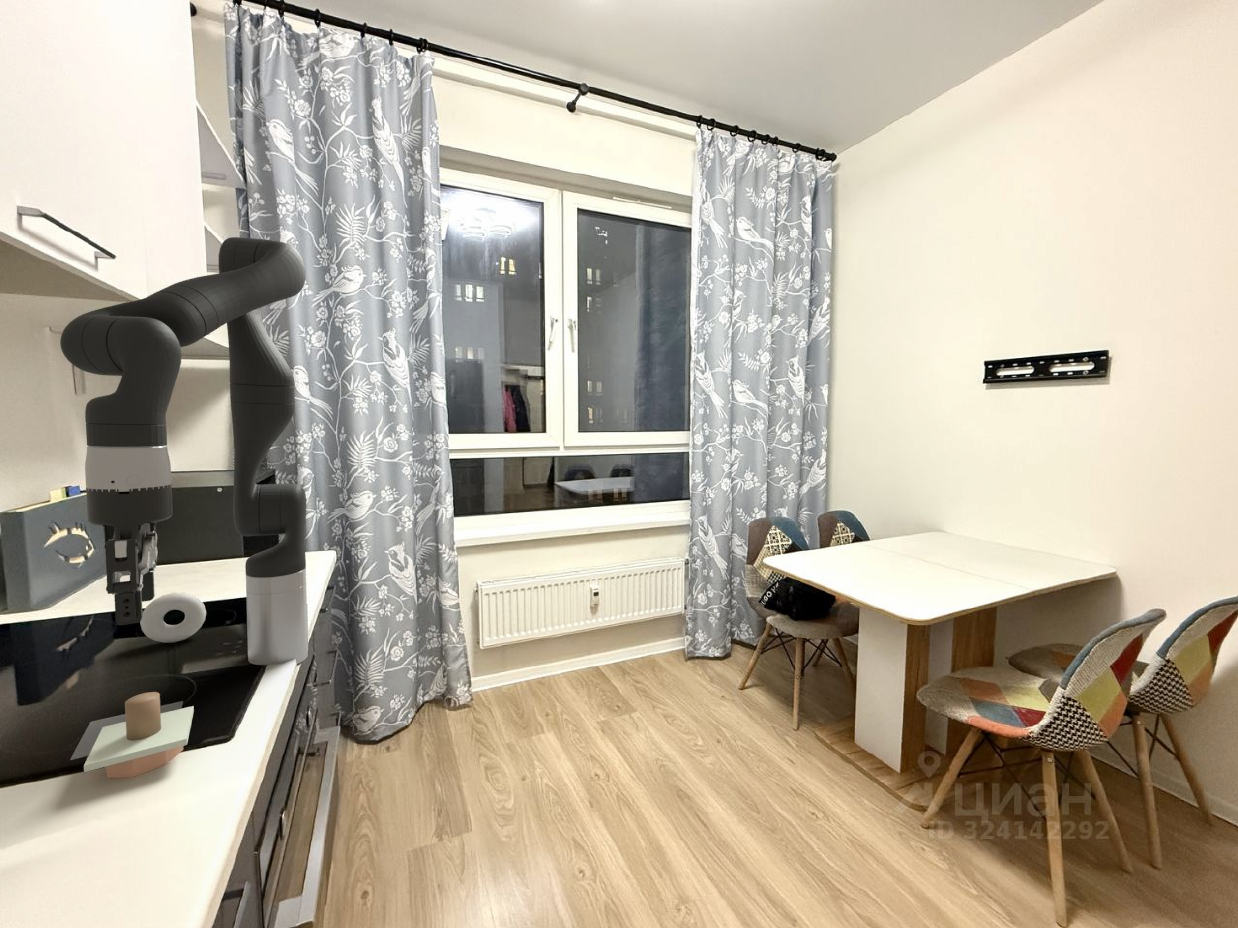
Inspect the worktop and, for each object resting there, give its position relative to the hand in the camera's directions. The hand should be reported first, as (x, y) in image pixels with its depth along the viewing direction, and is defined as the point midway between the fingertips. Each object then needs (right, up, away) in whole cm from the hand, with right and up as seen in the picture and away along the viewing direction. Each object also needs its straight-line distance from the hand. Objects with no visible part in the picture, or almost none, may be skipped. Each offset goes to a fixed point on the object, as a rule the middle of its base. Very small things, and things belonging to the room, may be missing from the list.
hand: (136, 611), depth 63 cm
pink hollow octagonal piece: (0, -21, +1) cm, 21 cm away
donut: (-29, -18, +39) cm, 51 cm away
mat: (-8, -20, +8) cm, 23 cm away
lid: (0, -17, +1) cm, 17 cm away
